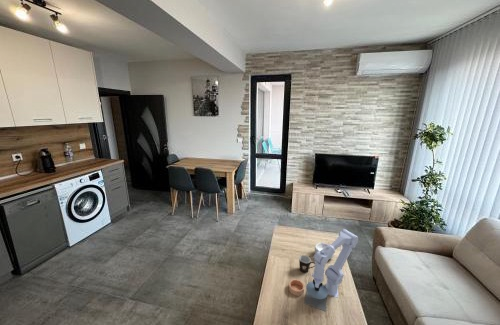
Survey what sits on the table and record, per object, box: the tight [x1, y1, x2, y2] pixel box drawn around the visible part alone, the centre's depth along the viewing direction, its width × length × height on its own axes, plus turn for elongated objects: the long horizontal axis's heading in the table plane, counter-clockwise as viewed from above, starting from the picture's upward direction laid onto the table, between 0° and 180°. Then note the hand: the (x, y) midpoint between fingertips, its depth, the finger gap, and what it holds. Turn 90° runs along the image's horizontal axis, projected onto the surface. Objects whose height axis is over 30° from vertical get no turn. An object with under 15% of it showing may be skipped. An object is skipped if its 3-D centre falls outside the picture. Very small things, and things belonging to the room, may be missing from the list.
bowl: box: [288, 278, 306, 297], centre depth 138 cm, size 10×10×4 cm
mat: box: [303, 290, 328, 312], centre depth 131 cm, size 13×13×1 cm
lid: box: [305, 280, 328, 299], centre depth 129 cm, size 13×13×4 cm
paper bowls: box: [314, 242, 335, 260], centre depth 171 cm, size 15×15×8 cm
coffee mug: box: [298, 254, 315, 274], centre depth 154 cm, size 12×9×10 cm
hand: (317, 288), depth 130 cm, fingers closed on lid, 3 cm apart
